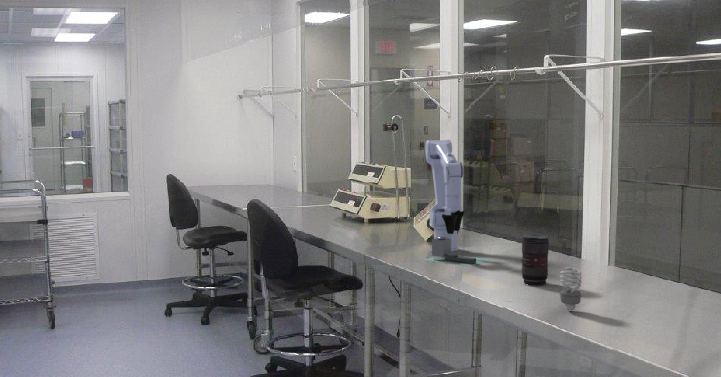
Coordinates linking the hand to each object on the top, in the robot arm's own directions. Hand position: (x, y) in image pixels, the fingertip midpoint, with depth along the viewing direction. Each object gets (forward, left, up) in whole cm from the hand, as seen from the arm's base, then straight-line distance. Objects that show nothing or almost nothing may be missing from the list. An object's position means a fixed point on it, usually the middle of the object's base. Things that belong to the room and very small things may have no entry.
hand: (453, 232), depth 276 cm
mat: (+2, +3, -10) cm, 11 cm away
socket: (+5, -2, -8) cm, 10 cm away
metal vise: (+5, +3, -10) cm, 11 cm away
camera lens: (+19, +43, -10) cm, 48 cm away
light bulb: (+43, +66, -10) cm, 79 cm away
